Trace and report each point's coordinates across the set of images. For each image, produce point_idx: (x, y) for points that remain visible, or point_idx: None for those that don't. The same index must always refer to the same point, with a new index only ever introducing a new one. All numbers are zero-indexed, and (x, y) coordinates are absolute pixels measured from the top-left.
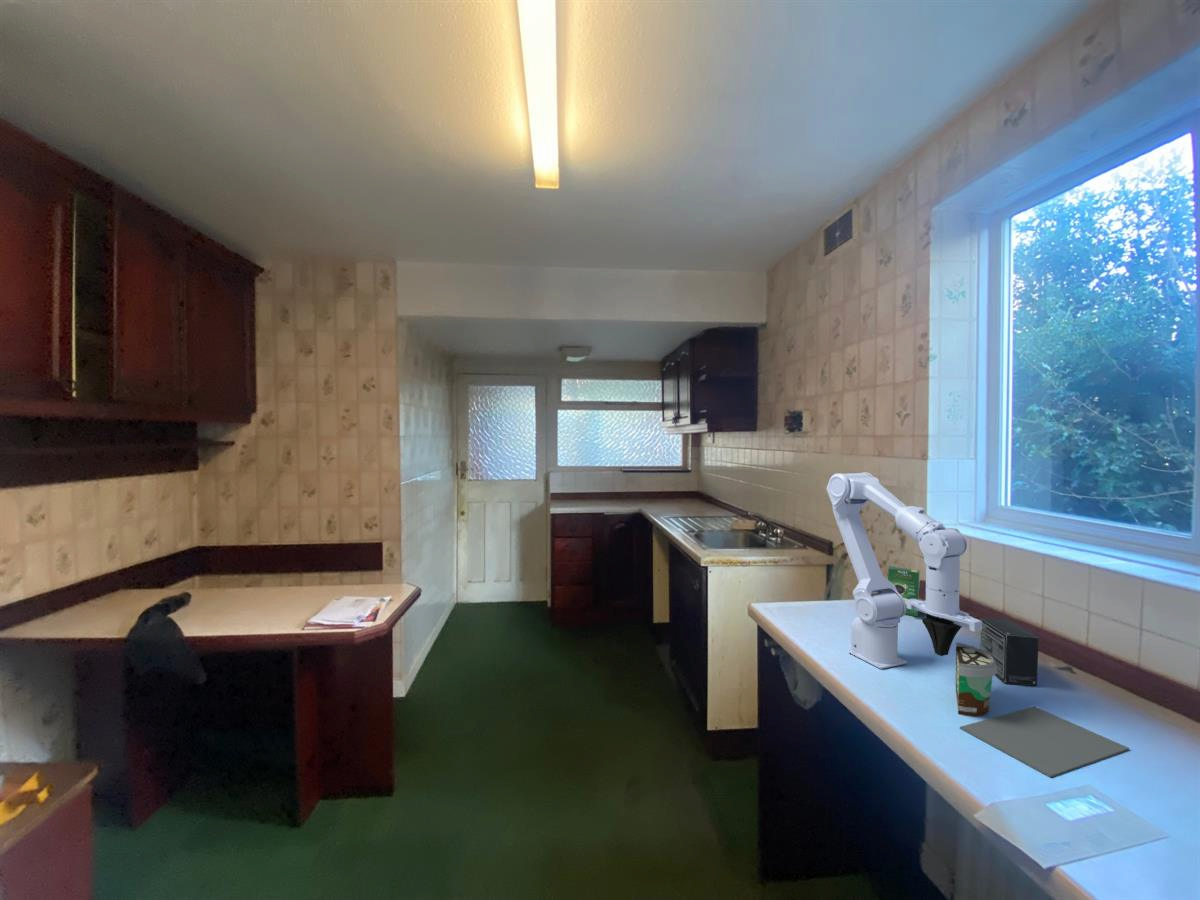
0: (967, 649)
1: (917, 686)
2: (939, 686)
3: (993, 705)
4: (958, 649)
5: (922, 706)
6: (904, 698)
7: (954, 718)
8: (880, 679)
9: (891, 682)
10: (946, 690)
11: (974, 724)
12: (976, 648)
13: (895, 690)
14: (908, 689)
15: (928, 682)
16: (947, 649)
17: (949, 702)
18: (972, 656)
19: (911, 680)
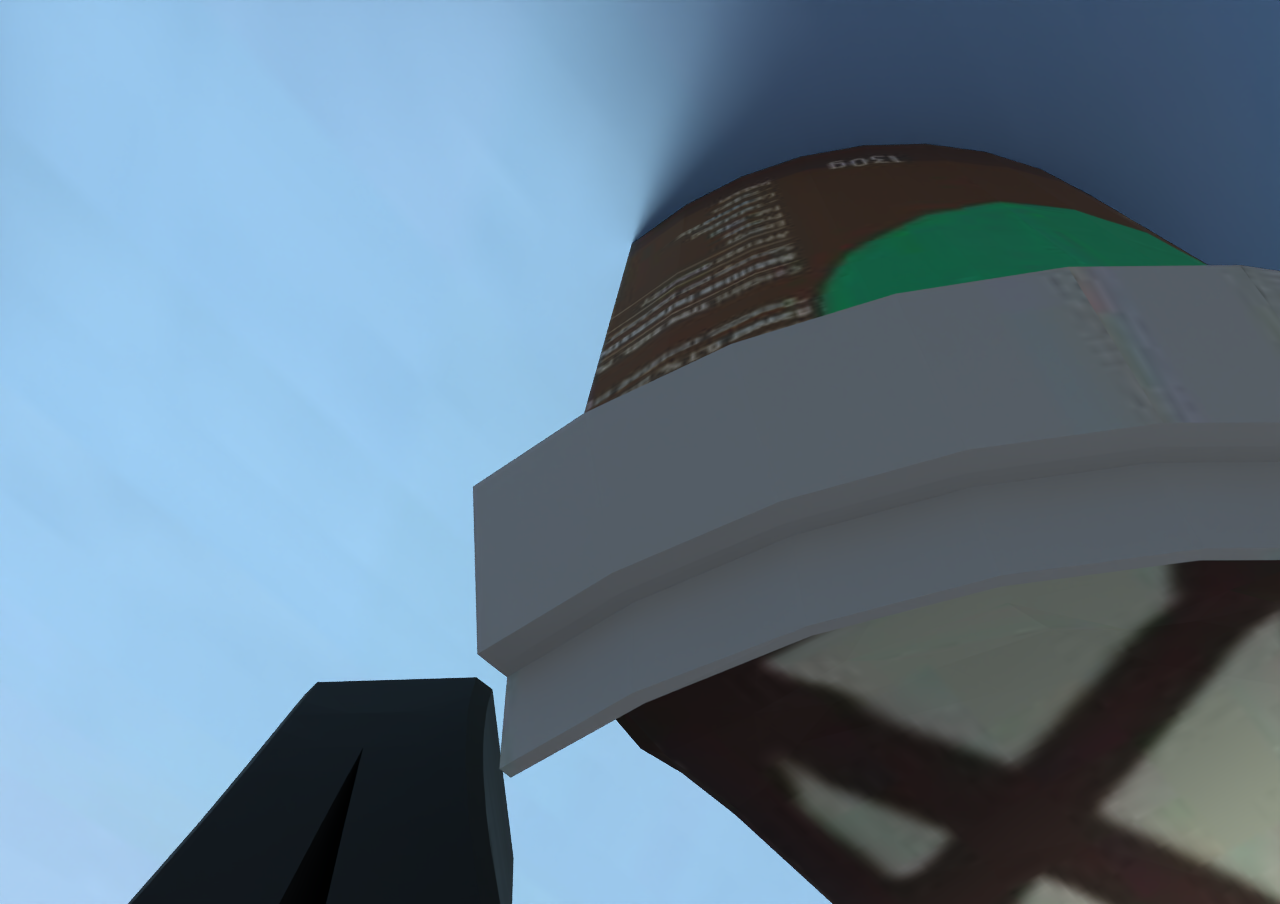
0: (908, 614)
1: (338, 573)
2: (407, 299)
3: (1136, 63)
4: (737, 781)
5: (748, 859)
6: (551, 888)
7: None
8: (84, 810)
9: (178, 760)
10: (539, 312)
11: None
12: (1217, 539)
13: None
14: None
15: (259, 342)
16: (494, 838)
17: None
18: (1267, 851)
19: (161, 511)
